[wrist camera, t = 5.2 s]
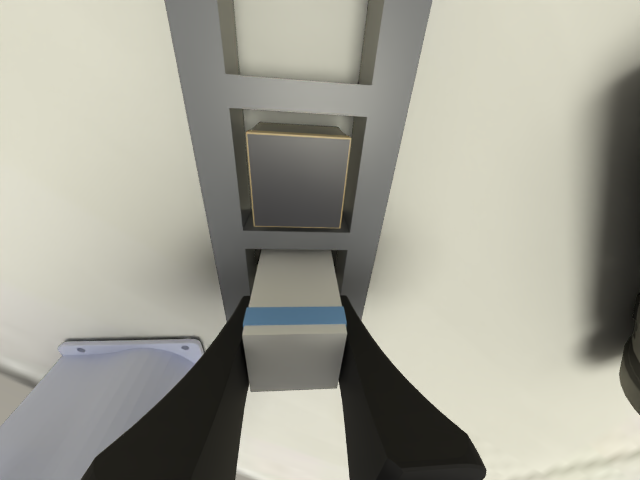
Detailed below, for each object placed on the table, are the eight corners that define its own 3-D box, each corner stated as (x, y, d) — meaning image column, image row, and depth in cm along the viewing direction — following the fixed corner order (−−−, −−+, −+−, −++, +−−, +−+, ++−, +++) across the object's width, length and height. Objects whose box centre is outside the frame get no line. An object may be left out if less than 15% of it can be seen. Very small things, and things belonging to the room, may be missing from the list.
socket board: (237, 301, 17) (225, 343, 14) (163, -182, 7) (77, -350, 4) (352, 301, 18) (362, 340, 15) (432, -136, 8) (504, -254, 5)
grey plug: (265, 291, 15) (249, 392, 10) (262, 240, 13) (240, 334, 8) (325, 291, 16) (337, 388, 11) (330, 241, 14) (348, 332, 9)
